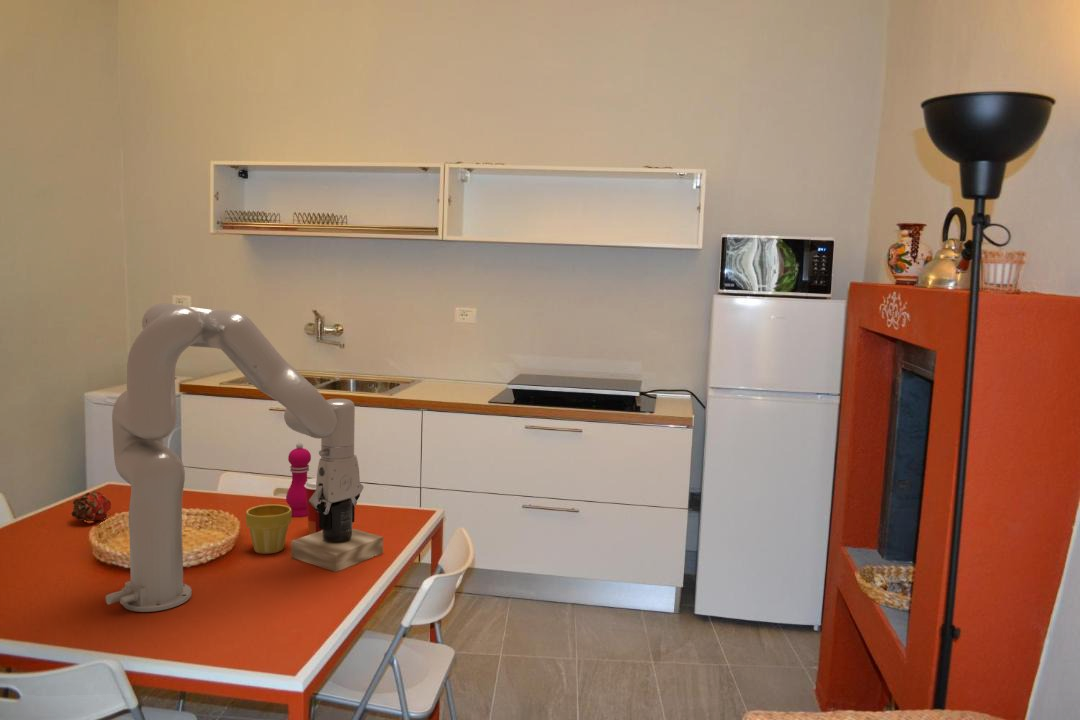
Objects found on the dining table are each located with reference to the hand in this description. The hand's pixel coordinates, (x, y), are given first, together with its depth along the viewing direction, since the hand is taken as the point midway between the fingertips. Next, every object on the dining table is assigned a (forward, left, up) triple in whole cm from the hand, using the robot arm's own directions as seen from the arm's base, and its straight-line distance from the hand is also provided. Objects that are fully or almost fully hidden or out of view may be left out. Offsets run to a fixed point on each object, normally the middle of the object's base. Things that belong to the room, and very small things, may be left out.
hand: (337, 524), depth 183 cm
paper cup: (+8, +15, -8) cm, 19 cm away
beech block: (0, 0, -8) cm, 8 cm away
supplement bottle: (0, 0, -3) cm, 3 cm away
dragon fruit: (-21, +69, -8) cm, 72 cm away
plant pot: (-7, +16, -8) cm, 19 cm away
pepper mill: (+16, +32, -8) cm, 37 cm away
